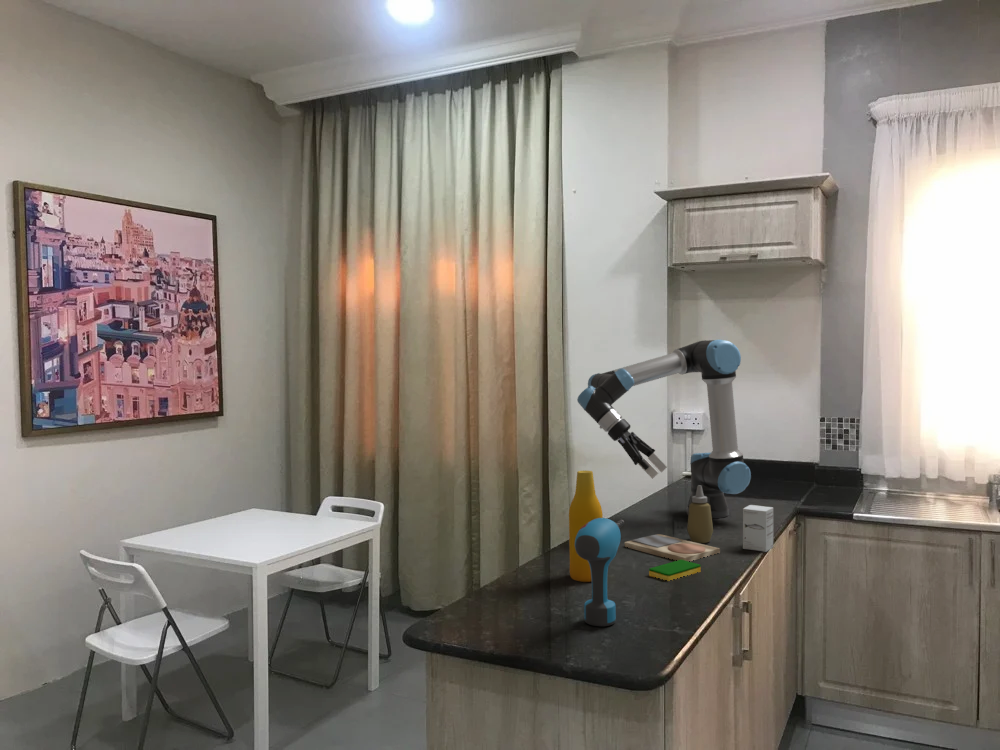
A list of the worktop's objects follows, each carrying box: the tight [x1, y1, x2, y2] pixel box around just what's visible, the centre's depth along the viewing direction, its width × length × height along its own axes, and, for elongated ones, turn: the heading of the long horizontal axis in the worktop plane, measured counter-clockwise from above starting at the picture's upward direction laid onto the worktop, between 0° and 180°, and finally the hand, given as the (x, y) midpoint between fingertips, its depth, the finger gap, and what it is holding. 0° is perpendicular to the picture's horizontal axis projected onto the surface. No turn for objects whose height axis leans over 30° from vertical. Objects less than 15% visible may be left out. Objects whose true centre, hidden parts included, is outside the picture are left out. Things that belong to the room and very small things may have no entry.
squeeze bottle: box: [686, 485, 714, 544], centre depth 244 cm, size 8×8×18 cm
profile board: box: [624, 533, 721, 562], centre depth 234 cm, size 16×24×2 cm, turn 36°
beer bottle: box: [568, 470, 604, 583], centre depth 208 cm, size 9×9×29 cm
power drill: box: [575, 517, 625, 627], centre depth 178 cm, size 28×9×23 cm, turn 154°
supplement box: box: [742, 504, 775, 553], centre depth 234 cm, size 7×7×13 cm
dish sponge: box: [648, 560, 702, 582], centre depth 210 cm, size 7×14×2 cm, turn 127°
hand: (660, 472), depth 248 cm, fingers open, 13 cm apart
